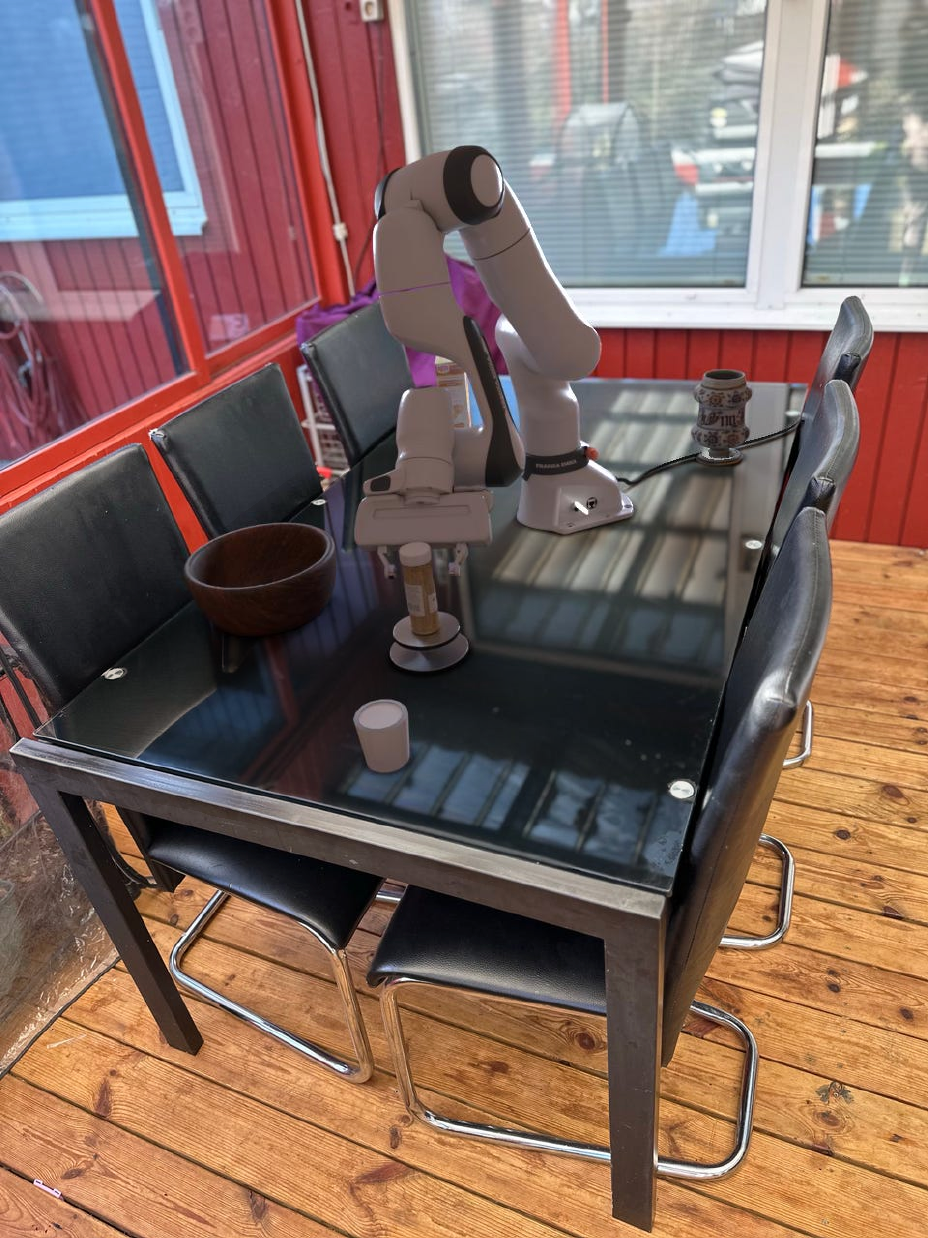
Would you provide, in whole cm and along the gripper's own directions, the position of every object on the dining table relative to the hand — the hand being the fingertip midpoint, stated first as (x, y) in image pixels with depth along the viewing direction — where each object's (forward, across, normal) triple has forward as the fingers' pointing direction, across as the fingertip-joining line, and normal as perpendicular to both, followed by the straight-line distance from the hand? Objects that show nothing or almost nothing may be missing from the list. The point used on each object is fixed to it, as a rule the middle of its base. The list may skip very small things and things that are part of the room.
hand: (422, 577), depth 128 cm
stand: (+9, 0, -9) cm, 13 cm away
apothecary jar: (-43, -51, -63) cm, 92 cm away
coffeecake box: (-60, +9, -79) cm, 100 cm away
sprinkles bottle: (+6, +1, -6) cm, 9 cm away
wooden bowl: (-1, +30, -20) cm, 36 cm away
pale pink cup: (+27, +2, +8) cm, 28 cm away
